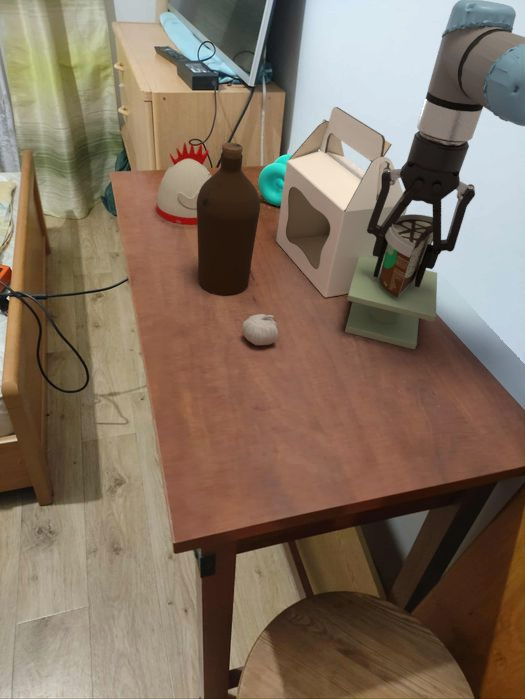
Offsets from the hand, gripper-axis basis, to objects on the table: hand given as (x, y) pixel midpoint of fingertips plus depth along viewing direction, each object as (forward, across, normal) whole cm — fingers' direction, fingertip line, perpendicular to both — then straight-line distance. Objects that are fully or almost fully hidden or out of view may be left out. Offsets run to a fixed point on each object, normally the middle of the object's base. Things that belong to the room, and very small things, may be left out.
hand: (396, 277), depth 85 cm
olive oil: (+9, +30, 0) cm, 31 cm away
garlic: (+9, +19, +14) cm, 25 cm away
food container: (+1, +1, 0) cm, 1 cm away
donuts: (+9, +29, -40) cm, 50 cm away
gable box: (+9, +13, -15) cm, 22 cm away
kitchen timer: (+9, +47, -24) cm, 54 cm away
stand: (+9, 0, 0) cm, 9 cm away
